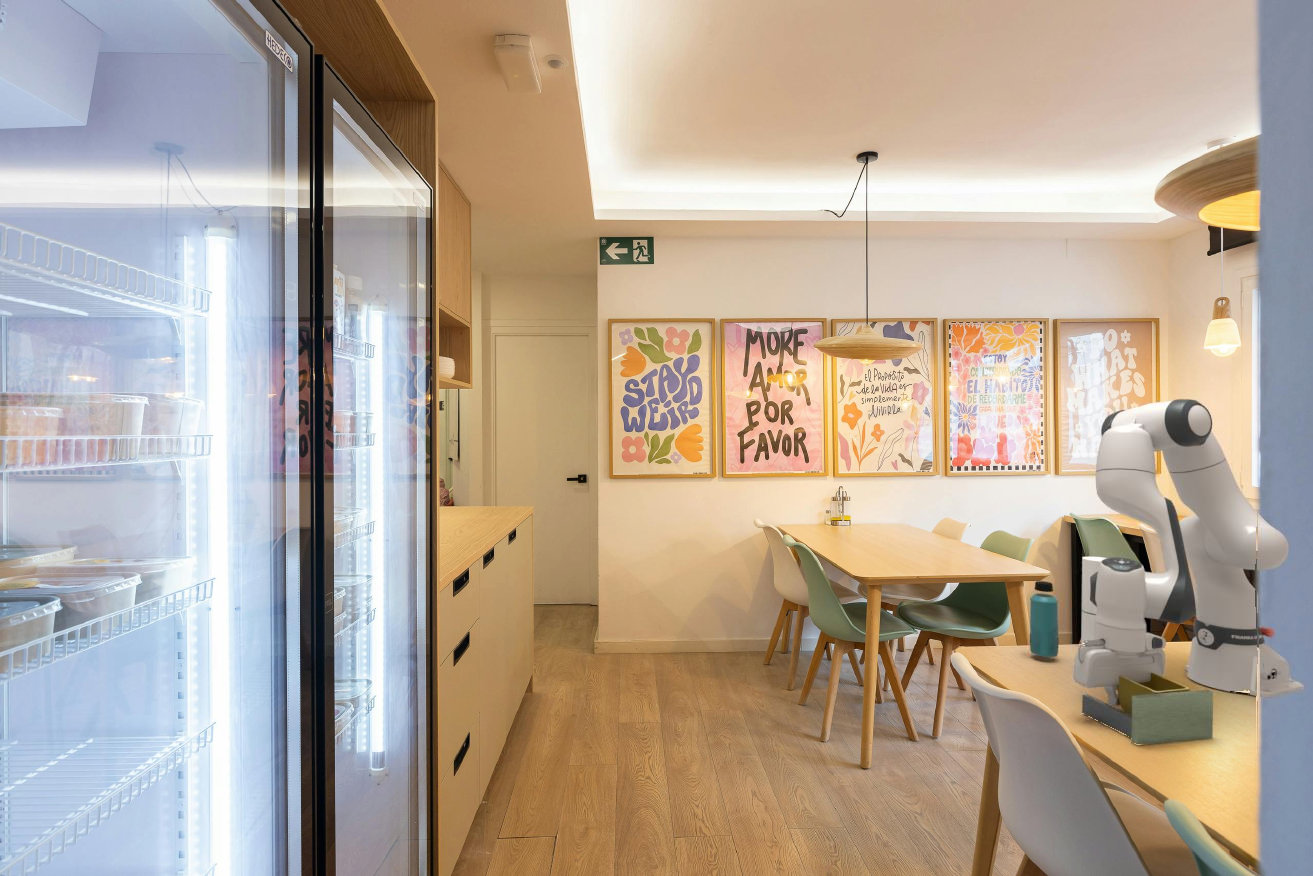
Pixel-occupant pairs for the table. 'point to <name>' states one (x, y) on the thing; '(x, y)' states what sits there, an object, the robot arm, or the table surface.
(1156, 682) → the flower pot
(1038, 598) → the beverage bottle
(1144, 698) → the bracket
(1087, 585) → the cylindrical container
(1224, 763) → the table surface
